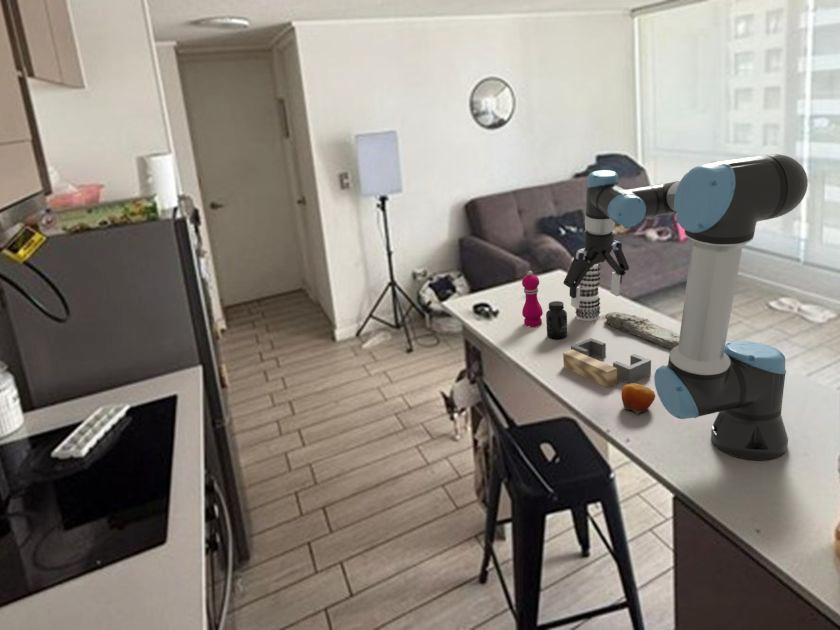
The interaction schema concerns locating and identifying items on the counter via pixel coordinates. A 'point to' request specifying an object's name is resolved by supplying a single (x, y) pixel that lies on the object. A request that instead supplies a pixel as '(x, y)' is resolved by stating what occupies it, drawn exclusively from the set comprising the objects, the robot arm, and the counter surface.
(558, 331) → the supplement bottle
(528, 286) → the pepper mill
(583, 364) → the oak slat
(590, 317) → the decorative candle
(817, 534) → the counter surface
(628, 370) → the end caps
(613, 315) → the long grey stone
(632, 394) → the fruit
